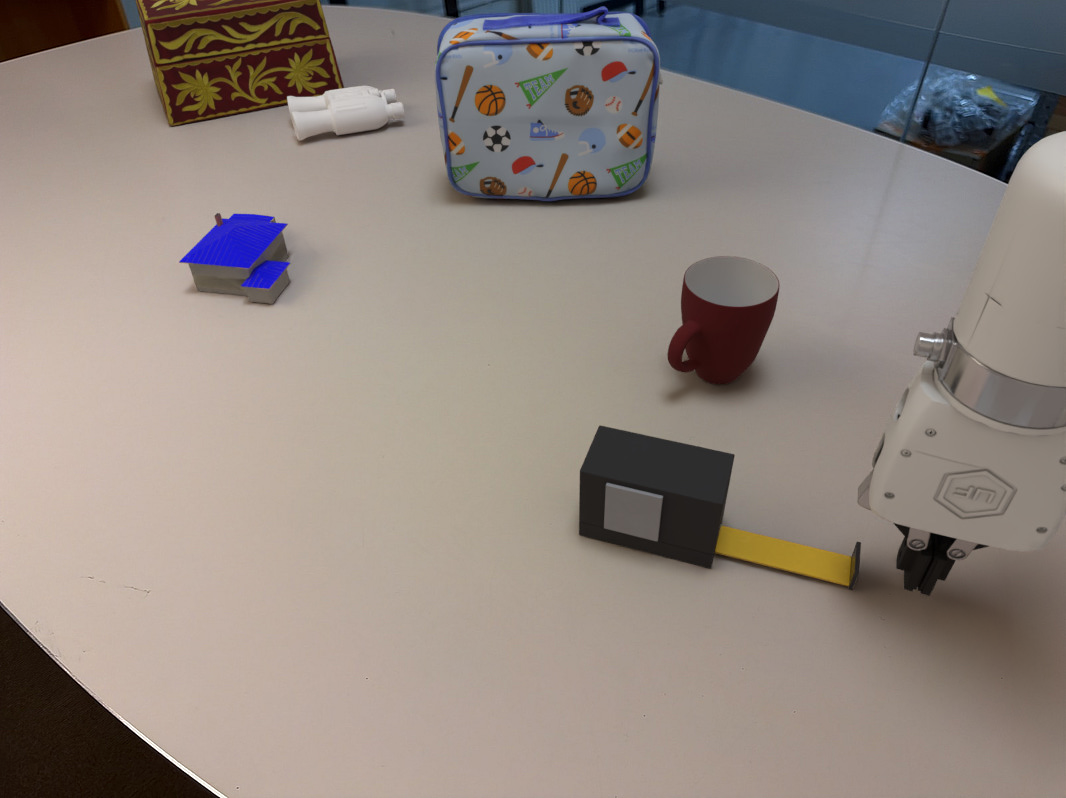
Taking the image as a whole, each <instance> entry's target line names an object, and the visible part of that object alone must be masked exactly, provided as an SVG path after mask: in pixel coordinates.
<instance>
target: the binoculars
mask: <svg viewBox="0 0 1066 798" xmlns="http://www.w3.org/2000/svg"><path fill="white" fill-rule="evenodd" d="M287 102H288V104H287V106H288V112H289V116H290V121H291V123H292V128H293V130H294V134H295V137H296V139H297V141H298V142H299V141H304V140H305V139H307V138H309V137H310V138H311V137H313V136H316V135H320V134H323V133H329V132H333V133H335V134H336V136H343V135H348V134H355V133H362V132H369V131H375V130H378V129H380V128H383V127H384V126H385V125H386V124H388V121H390V120H392V121H393V120H399V119H405V109H404V105H403V103H402V101H398V102H397V95H396V90H395V89H394V88H387V89H382V90H379V89H378V88H377V87H373V86H371V85H370V86H369V85H359V86H358V85H357V86H350V87H344V88H342V89H335V90H329V91H325V93H324V94H323V95H321V96H316V97H294V96H287Z"/></svg>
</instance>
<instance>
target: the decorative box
mask: <svg viewBox="0 0 1066 798" xmlns="http://www.w3.org/2000/svg"><path fill="white" fill-rule="evenodd" d="M134 2H135V5H136V9H137V13H138V18H139V21H140V26H141V30H142V31H141V32H142V35H143V38H144V43H145V48H146V52H147V56H148V59H149V63H150V64H149V65H150V68H151V73H152V77H153V80H154V84H155V89H156V92H157V94H158V97H159V100H160V103H161V107H162V110H163V112H164V116H165V118H166V121H167V124H168V125H169V127H170V126H171V127H172V126H173V127H174V126H180V125H185V124H191V123H197V122H201V121H207V120H212V119H217V118H218V119H219V118H222V117H227V116H233V115H238V114H243V113H249V112H253V111H254V112H255V111H259V110H264V109H269V108H275V107H279V106H285V105H288V102H287V96H294V97H316V96H321V95H323V94H324V93H325V91H329V90H335V89H342V88H345V86H344V82H343V79H342V75H341V71H340V67H339V63H338V60H337V57H336V53H335V50H334V45H333V43H332V39H331V37H330V32H329V28H328V23H327V21H326V17H325V13H324V10H323V7H322V2H321V0H134Z"/></svg>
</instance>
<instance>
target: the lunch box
mask: <svg viewBox="0 0 1066 798" xmlns="http://www.w3.org/2000/svg"><path fill="white" fill-rule="evenodd" d="M663 83H664V80H663V77H662V73H661V56H660V52H659V49H658V46H657V45H656V43H655V42H654V41H653V37H652V33H651V30H650V27H649V25H648V24H647V21H645V20H644V19H643V18H642V17H640V16H638V15H637V14H635V13H632V12H627V11H615V10H614V11H609V9H608V8H607V7H606V6H604V5H602V6H600V7H598V8H595V9H593V10H590V11H585V12H563V13H561V12H549V13H548V12H491V13H490V12H489V13H476V14H475V13H474V14H469V15H468V14H467V15H462V16H460V17H456V18H454V19H452V20H450V21H449V22H448V23H447V24H446V25H445V26H444V27H443V28H442V30H441V31H440V33H439V35H438V39H437V45H436V59H435V63H434V87H435V99H436V110H437V112H436V113H437V120H438V129H439V135H440V141H441V146H442V147H441V148H442V153H443V160H444V165H445V171H446V176H447V179H448V183H449V184H450V185H451V187H452V188H453V189H454V190H455V191H456V192H458V193H460V194H462V195H465V196H468V197H472V198H479V199H481V198H482V199H500V200H501V199H502V200H503V199H504V200H529V201H532V200H533V201H540V202H555V201H562V200H572V199H573V200H574V199H596V198H597V199H598V198H599V199H600V198H602V199H603V198H616V197H617V198H618V197H623V196H628V195H630V194H632V193H634V192H636V191H638V190H639V189H640V188H641V187H642V186H644V184H645V183H646V181H647V180H648V178H649V175H650V172H651V168H652V164H653V158H654V154H655V153H654V152H655V148H656V139H657V129H658V118H659V109H660V108H659V106H660V88H661V86H660V85H663Z"/></svg>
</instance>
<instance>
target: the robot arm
mask: <svg viewBox="0 0 1066 798" xmlns="http://www.w3.org/2000/svg"><path fill="white" fill-rule="evenodd" d="M956 311H957V312H956V314H955V317H952V316H951V318H950V319H949V322H948V324H947V327H944V328H943V329H942V330H941V332H935V331H934V332H933V333H927V332H922V331H921V332H920V331H919V332H918V333H917V335H916V338H915V341H914V345H913V349H912V351H913V353H912V354H913V355H912V356H913V357H920V358H924V359H926V361H925V362H924V363H923V364H922V365H921V366H920V368H919V369H918V371H916V373H915V374H914V376H913V378H912V379H911V381H910V382H909V384H907V387H906V388H905V390H904V392H903V393H902V394H901V396H900V398H899V400H898V402H897V404H896V406H895V407H894V409H893V411H892V413H891V415H890V417H889V418H888V421H887V423H886V424H885V426H884V428H883V431H882V432H881V435H880V436H879V440H878V442H877V444H876V447H875V449H874V452H873V457H872V460H871V465H872V468H873V469H872V470H871V471H869V474H867V476H866V477H865V479H863V481H862V482H861V484H860V485H858V488H857V498H856V499H857V500H856V501H857V504H858V506H860V507H861V508H864V509H866V510H869V511H871V512H872V513H874V515H876V516H877V517H879V518H881V519H883V520H885V521H887V522H890V523H892V524H893V525H894V526H895V527H896V528H897V529H898V531H899V532H900V533H901V534H902V535H903V539H902V541H901V544H900V546H899V549H898V550H897V555H896V560H895V561H896V563H895V569H896V570H899V571H902V572H903V590H904V591H908V592H913V591H917V592H920V593H919V594H921V595H923V596H928V597H930V596H931V594H932V593H933V590H934V588H935V586H936V585H937V583H938V580H940V581H943V582H945V581H946V579H947V578H948V577H949V575H950V572H951V570H952V569H953V566H954V565H955V562H957V561H963V560H965V559H967V558H968V556H970V554H971V553H972V552H973V551H977V550H980V549H984V548H988V547H992V548H996V549H1000V550H1004V551H1005V550H1007V551H1011V552H1021V553H1029V552H1030V553H1031V552H1037V551H1040V550H1042V549H1044V548H1045V547H1046V546H1047V545H1049V543H1050V542H1051V541H1052V539H1053V538H1054V536H1055V534H1056V533H1057V532H1058V530H1059V528H1060V526H1061V524H1062V523H1063V520H1064V519H1065V517H1066V130H1064V131H1061V132H1057V133H1053V134H1050V135H1048V136H1045V137H1043V138H1041V139H1040V140H1039V141H1037V142H1035V143H1034V144H1032V145H1031V147H1029V148H1028V149H1027V150H1026V151H1025V152H1024V153H1023V154H1022V156H1021V157H1020V159H1019V160H1018V162H1017V163H1016V166H1015V167H1014V170H1013V172H1012V174H1011V176H1010V178H1009V180H1008V183H1007V186H1006V188H1005V191H1004V194H1003V196H1002V198H1001V201H1000V204H999V205H998V209H997V211H996V214H995V216H994V218H993V220H992V223H991V225H990V229H989V231H988V233H987V236H986V239H985V241H984V244H983V246H982V248H981V251H980V253H979V256H978V258H977V261H976V264H975V266H974V269H973V271H972V274H971V276H970V278H969V281H968V284H967V286H966V289H965V292H964V294H963V297H962V299H961V301H960V304H959V306H958V308H957V310H956Z"/></svg>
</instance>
